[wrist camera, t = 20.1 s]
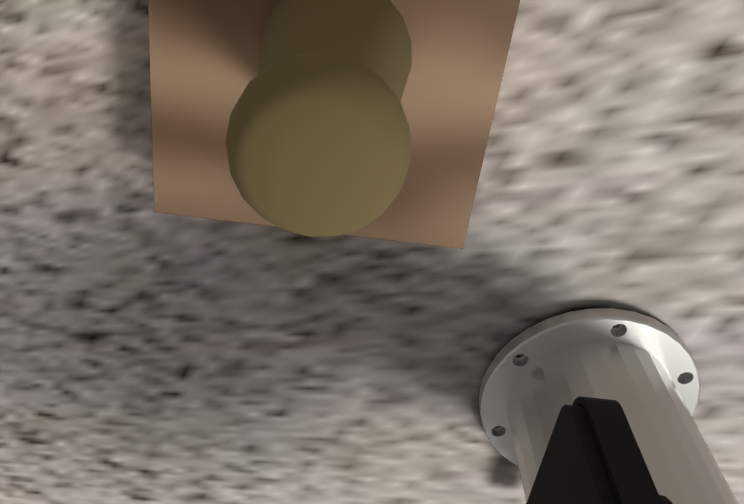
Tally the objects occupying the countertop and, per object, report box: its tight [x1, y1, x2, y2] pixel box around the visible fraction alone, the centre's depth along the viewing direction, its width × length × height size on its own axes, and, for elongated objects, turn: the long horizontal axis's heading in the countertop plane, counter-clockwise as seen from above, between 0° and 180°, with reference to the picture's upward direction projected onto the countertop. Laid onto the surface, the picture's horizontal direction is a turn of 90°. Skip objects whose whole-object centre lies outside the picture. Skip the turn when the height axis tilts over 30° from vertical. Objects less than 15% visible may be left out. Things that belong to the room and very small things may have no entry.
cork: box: [225, 0, 412, 237], centre depth 23 cm, size 6×6×11 cm
